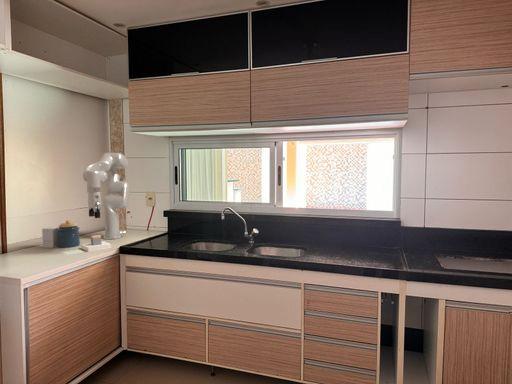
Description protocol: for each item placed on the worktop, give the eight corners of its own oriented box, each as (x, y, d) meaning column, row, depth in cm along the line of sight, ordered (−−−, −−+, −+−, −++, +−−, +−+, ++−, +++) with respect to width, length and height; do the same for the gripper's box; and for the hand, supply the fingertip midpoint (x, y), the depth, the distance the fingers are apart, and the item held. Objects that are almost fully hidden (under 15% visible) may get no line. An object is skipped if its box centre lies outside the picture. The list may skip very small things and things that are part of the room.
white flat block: (103, 245, 228) (103, 241, 228) (111, 248, 220) (111, 244, 220) (81, 249, 218) (81, 244, 218) (88, 252, 210) (88, 247, 210)
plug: (99, 247, 222) (98, 234, 222) (101, 248, 220) (101, 235, 219) (91, 248, 219) (90, 236, 218) (93, 249, 216) (92, 236, 216)
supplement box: (60, 245, 229) (60, 226, 229) (53, 248, 222) (52, 228, 221) (50, 245, 230) (49, 226, 229) (42, 247, 223) (41, 228, 222)
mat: (78, 250, 216) (78, 249, 216) (84, 252, 209) (84, 251, 209) (61, 252, 209) (61, 252, 209) (66, 255, 202) (66, 254, 202)
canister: (68, 249, 218) (67, 221, 217) (52, 248, 222) (51, 221, 221) (84, 245, 230) (83, 219, 229) (69, 243, 234) (68, 218, 233)
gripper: (105, 190, 213) (106, 217, 214) (94, 189, 225) (95, 215, 227) (92, 191, 208) (93, 219, 209) (82, 189, 220) (83, 216, 221)
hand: (94, 217), depth 218 cm, fingers open, 9 cm apart
